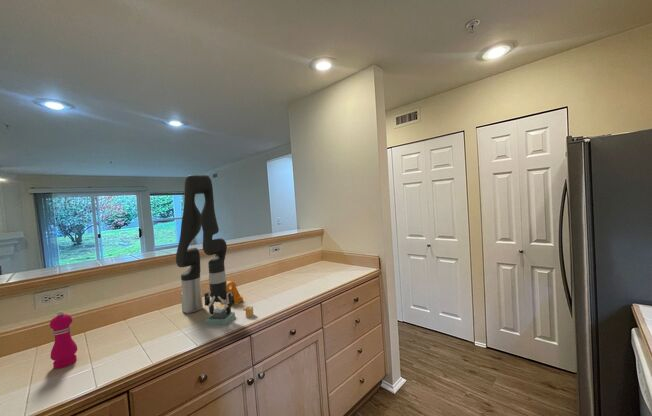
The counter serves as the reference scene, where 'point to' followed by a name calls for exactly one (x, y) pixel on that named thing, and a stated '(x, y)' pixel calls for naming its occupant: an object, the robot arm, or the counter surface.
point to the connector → (220, 313)
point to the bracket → (235, 292)
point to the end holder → (220, 320)
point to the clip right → (248, 311)
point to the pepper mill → (62, 341)
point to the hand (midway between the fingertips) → (220, 314)
